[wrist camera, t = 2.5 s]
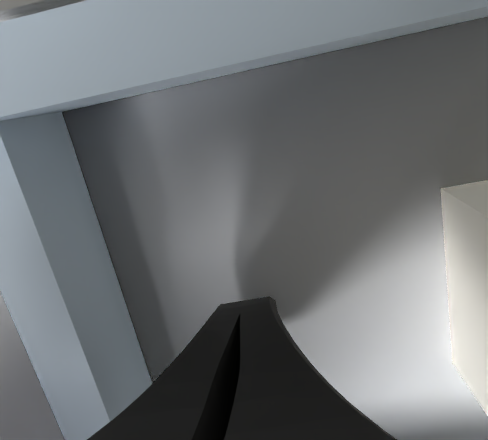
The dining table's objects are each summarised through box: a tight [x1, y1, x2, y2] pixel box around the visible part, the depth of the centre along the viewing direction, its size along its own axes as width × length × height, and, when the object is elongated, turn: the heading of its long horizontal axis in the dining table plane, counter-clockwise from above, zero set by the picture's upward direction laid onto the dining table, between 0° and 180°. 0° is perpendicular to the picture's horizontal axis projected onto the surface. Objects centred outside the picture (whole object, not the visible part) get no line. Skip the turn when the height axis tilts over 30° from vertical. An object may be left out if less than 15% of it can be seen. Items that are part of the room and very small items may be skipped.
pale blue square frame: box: [0, 0, 488, 440], centre depth 9 cm, size 15×14×4 cm
